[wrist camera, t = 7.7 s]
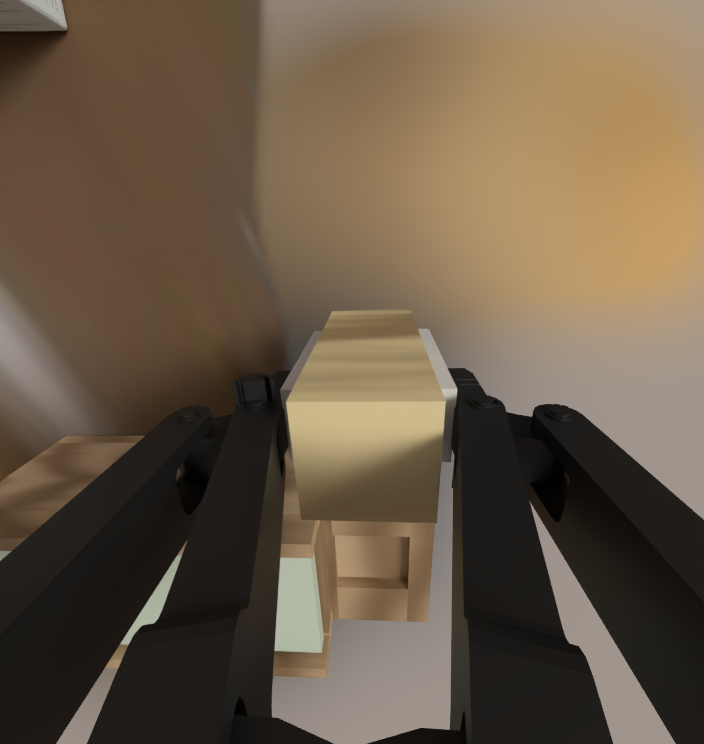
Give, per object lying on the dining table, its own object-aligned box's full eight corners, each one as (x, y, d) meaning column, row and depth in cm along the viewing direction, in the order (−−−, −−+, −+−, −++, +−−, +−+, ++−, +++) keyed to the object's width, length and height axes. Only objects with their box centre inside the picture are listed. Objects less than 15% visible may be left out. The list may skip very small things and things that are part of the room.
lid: (29, 624, 25) (-13, 674, 22) (-31, 530, 21) (-91, 575, 19) (323, 636, 23) (317, 690, 21) (312, 536, 20) (302, 587, 17)
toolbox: (111, 541, 33) (11, 663, 24) (66, 435, 28) (-81, 536, 19) (417, 548, 31) (435, 683, 22) (423, 435, 26) (449, 547, 17)
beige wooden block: (332, 310, 18) (285, 401, 9) (410, 309, 18) (446, 401, 8) (336, 381, 20) (301, 520, 10) (408, 380, 19) (436, 523, 10)
